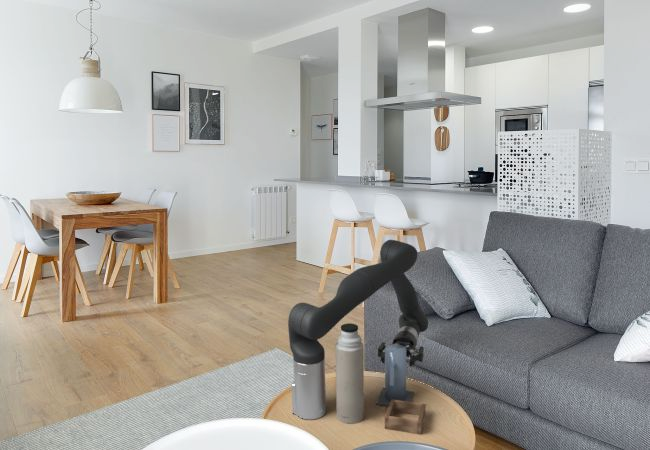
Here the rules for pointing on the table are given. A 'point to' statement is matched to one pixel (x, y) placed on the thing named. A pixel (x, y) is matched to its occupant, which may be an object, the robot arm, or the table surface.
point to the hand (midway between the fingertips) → (396, 362)
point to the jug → (395, 372)
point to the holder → (404, 423)
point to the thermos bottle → (349, 375)
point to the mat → (385, 402)
